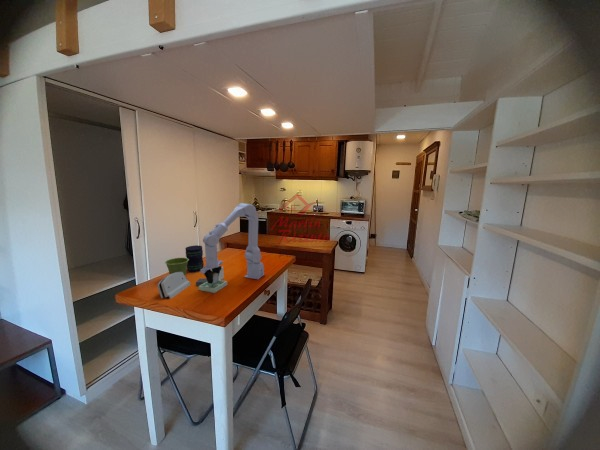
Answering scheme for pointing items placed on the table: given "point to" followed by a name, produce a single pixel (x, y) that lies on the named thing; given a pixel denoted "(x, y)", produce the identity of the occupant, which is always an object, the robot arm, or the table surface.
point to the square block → (201, 281)
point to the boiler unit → (221, 274)
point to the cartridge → (214, 280)
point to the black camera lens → (194, 258)
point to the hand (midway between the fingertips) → (213, 281)
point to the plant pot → (177, 265)
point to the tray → (213, 289)
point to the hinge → (172, 285)
